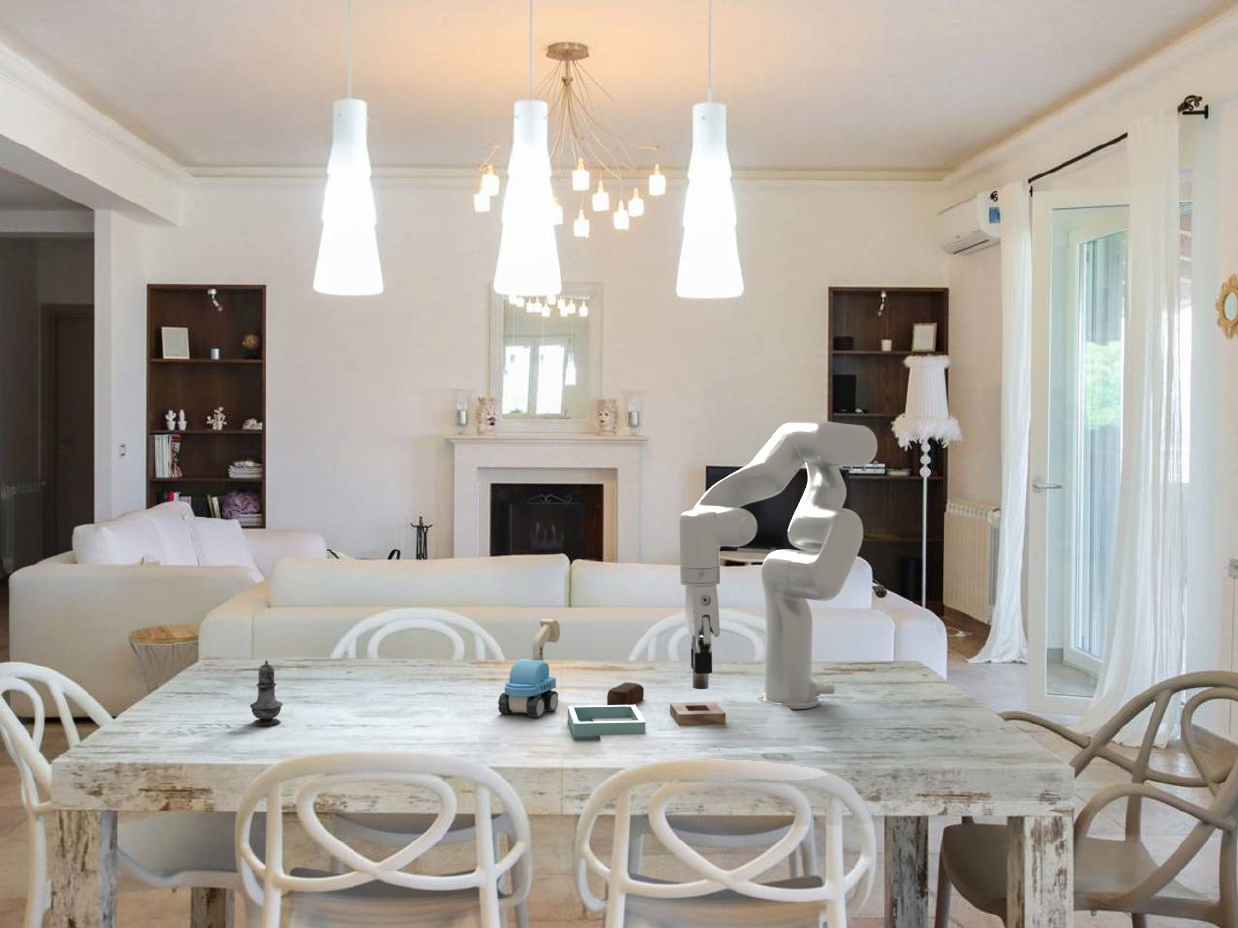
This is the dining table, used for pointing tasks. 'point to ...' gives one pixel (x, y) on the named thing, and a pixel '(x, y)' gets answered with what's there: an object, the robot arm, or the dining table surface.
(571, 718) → the tray
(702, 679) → the pin
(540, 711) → the toy excavator
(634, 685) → the brick
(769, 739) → the dining table surface
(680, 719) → the wooden square frame
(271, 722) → the salt shaker
